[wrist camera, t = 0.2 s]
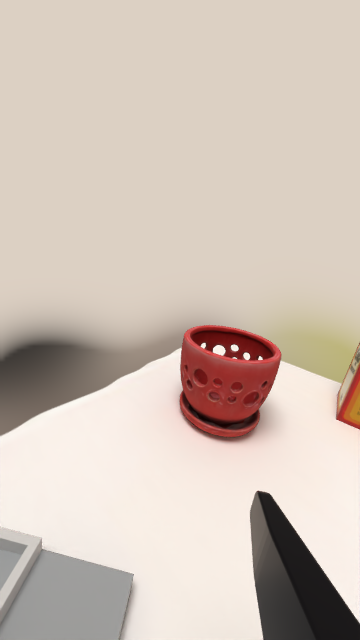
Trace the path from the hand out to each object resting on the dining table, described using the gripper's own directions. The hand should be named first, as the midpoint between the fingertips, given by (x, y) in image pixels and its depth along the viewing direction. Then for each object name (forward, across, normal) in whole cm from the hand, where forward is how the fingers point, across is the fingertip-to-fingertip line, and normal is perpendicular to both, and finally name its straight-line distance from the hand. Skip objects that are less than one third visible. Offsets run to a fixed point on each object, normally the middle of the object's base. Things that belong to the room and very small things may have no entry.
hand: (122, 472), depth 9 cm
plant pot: (+27, -7, +16) cm, 32 cm away
